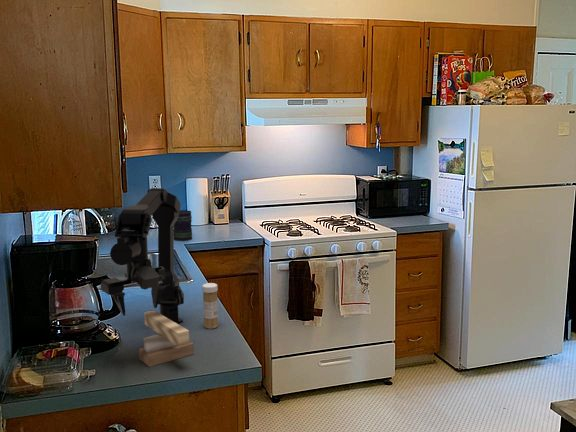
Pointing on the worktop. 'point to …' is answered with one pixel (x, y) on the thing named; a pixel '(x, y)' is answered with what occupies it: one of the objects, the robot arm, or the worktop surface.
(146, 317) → the batten
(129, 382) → the worktop surface
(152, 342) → the ridge
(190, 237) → the storage jar
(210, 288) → the sprinkles bottle
